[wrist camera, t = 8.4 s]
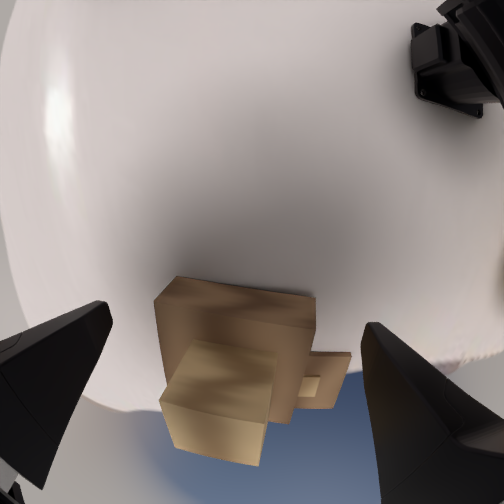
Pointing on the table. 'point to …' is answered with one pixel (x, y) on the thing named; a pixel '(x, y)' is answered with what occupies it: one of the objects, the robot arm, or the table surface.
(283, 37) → the table surface
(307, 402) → the swatch
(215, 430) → the oak cube
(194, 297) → the tan flat square block
